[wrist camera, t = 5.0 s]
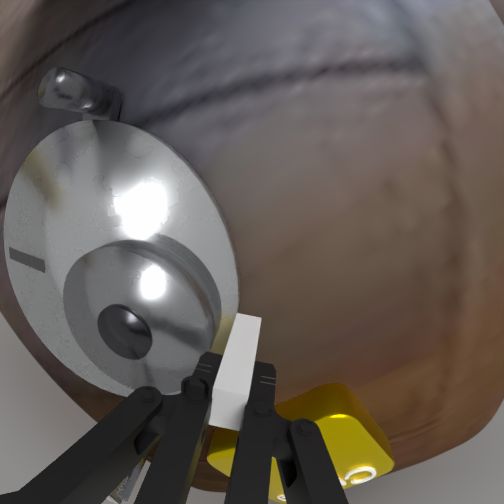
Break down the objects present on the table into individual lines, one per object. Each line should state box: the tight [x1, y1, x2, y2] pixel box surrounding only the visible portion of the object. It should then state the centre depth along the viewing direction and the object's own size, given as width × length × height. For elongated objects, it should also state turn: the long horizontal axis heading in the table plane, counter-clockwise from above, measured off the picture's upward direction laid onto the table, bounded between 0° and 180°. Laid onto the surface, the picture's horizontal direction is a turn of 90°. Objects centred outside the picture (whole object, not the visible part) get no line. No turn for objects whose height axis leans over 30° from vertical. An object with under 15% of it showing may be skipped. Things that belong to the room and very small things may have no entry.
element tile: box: [207, 383, 394, 504], centre depth 22 cm, size 15×15×5 cm
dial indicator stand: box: [106, 449, 151, 504], centre depth 19 cm, size 5×4×12 cm
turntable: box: [4, 67, 241, 397], centre depth 17 cm, size 27×24×6 cm
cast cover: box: [63, 232, 222, 394], centre depth 16 cm, size 10×10×4 cm
